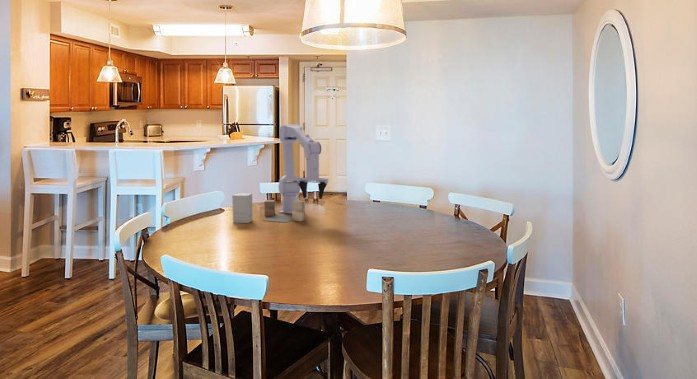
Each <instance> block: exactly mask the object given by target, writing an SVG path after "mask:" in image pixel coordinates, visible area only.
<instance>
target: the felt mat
mask: <svg viewBox="0 0 697 379" xmlns="http://www.w3.org/2000/svg"><path fill="white" fill-rule="evenodd" d="M262 221H264V222H273V223H283V224H285V223H289V222H291V221H292V215H283V214H282V215H281V214H275V215H274V216H270V217H267V218H264V219H262Z"/></svg>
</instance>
